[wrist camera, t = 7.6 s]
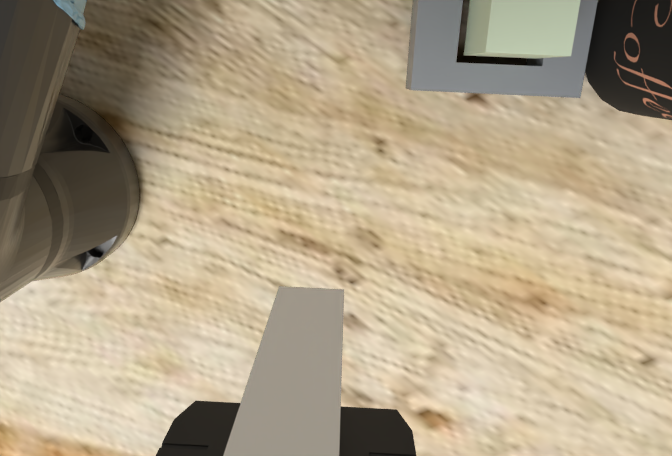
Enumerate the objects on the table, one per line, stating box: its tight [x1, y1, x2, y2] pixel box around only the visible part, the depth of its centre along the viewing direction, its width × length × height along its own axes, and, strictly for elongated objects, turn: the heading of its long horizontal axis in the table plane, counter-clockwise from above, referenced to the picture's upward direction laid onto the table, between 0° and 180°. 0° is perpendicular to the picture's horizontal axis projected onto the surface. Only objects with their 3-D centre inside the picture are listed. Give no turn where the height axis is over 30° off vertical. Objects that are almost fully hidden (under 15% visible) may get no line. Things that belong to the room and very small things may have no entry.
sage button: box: [464, 0, 581, 59], centre depth 32 cm, size 5×5×6 cm
